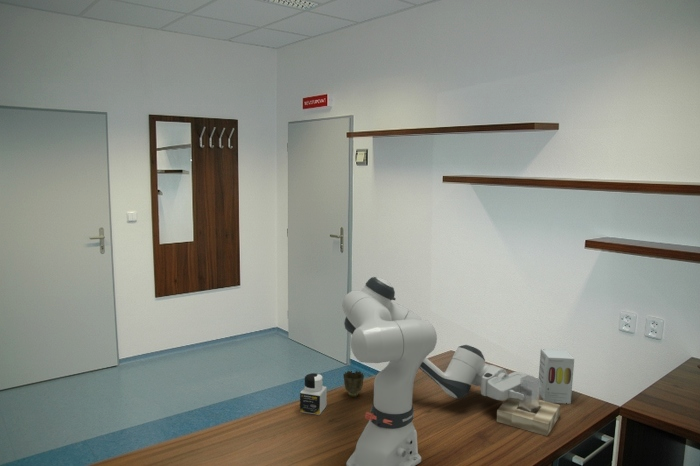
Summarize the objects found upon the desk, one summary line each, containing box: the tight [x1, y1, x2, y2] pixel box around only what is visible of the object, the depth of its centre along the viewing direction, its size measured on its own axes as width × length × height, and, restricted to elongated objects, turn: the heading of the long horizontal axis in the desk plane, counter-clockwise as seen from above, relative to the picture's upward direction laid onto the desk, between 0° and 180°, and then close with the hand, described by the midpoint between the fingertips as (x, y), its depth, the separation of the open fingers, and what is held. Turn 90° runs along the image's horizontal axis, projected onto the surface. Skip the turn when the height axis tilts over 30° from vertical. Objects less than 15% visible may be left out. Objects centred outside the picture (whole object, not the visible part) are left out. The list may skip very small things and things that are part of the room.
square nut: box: [496, 398, 561, 437], centre depth 174 cm, size 16×16×4 cm
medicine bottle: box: [299, 372, 328, 416], centre depth 178 cm, size 7×7×12 cm
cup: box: [343, 370, 365, 398], centre depth 189 cm, size 8×7×8 cm
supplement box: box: [538, 348, 575, 405], centre depth 189 cm, size 10×9×17 cm
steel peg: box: [519, 374, 540, 414], centre depth 173 cm, size 4×4×14 cm
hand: (532, 393), depth 172 cm, fingers open, 8 cm apart
